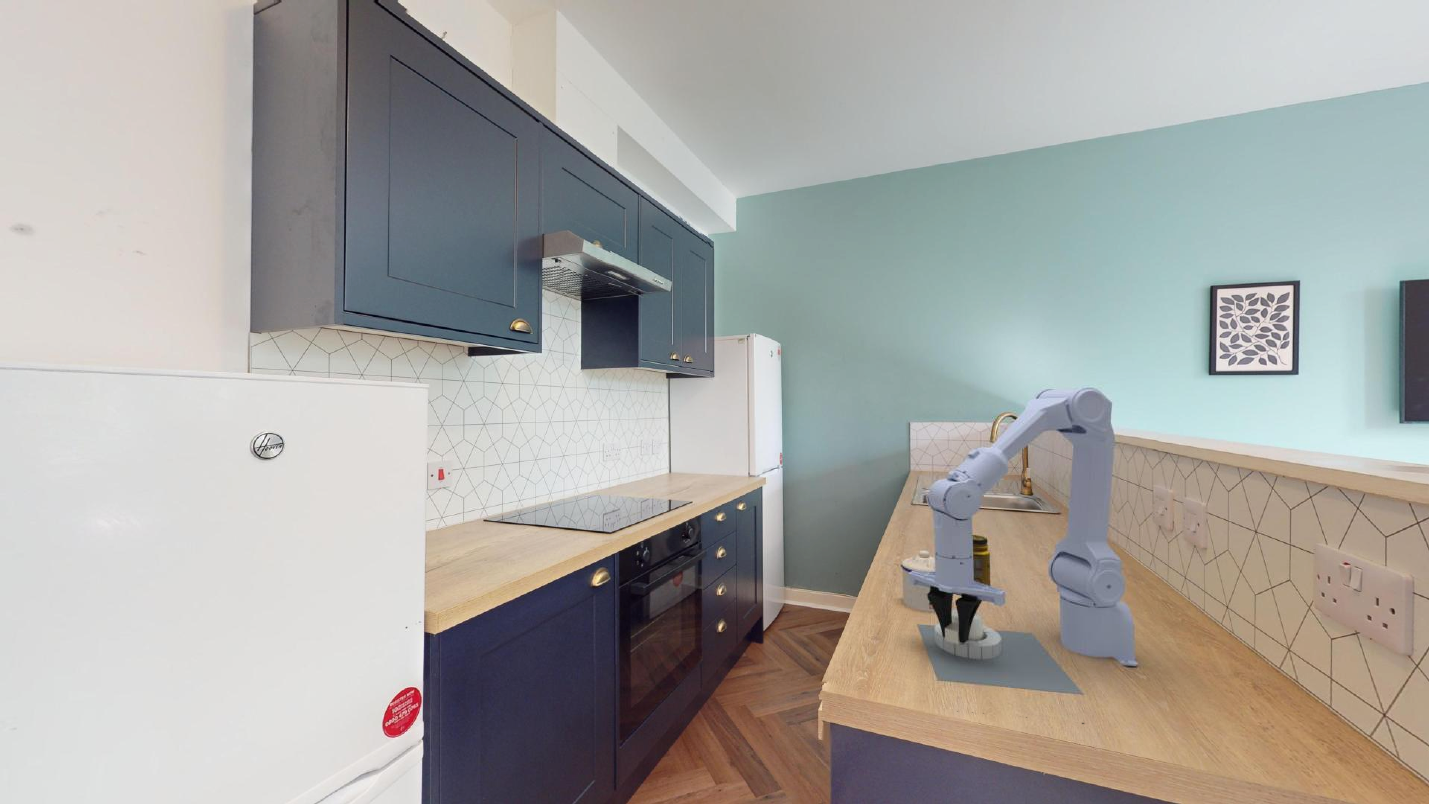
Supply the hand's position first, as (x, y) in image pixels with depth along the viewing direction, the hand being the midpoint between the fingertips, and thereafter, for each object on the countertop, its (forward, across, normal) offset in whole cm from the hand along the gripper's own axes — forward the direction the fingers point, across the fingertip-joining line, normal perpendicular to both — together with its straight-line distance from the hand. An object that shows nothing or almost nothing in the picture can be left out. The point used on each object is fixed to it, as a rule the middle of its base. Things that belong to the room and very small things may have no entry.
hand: (955, 638), depth 84 cm
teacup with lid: (+4, -13, +19) cm, 24 cm away
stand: (+4, +4, +4) cm, 6 cm away
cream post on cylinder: (+3, 0, +3) cm, 4 cm away
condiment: (+4, -9, +35) cm, 36 cm away
